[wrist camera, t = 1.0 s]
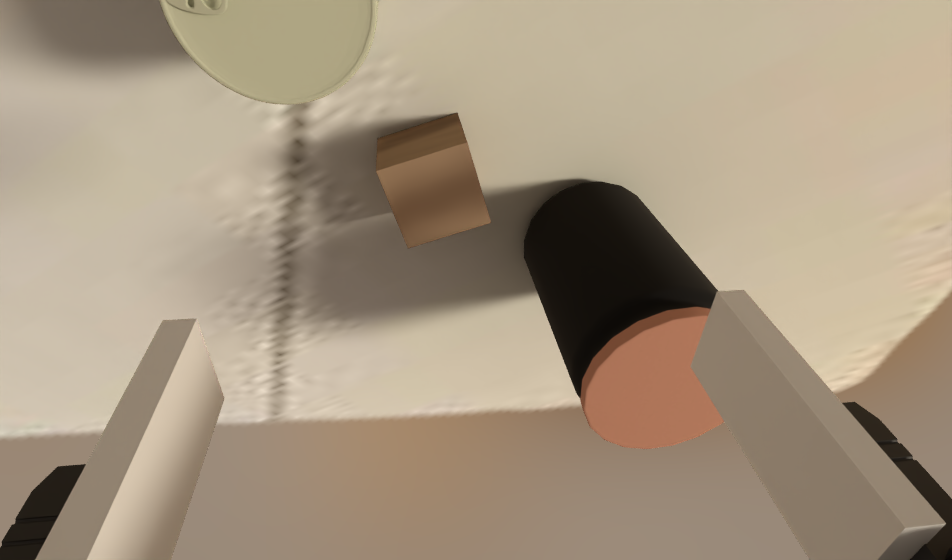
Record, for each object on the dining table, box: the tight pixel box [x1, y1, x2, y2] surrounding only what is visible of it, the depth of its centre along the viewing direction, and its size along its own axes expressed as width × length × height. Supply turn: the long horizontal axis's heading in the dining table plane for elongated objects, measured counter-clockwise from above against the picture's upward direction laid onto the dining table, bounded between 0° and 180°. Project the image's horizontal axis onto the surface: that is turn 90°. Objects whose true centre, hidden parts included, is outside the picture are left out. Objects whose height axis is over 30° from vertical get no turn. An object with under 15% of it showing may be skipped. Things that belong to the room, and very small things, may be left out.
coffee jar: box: [524, 182, 724, 449], centre depth 39 cm, size 11×11×18 cm
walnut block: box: [376, 113, 491, 248], centre depth 38 cm, size 6×6×6 cm
